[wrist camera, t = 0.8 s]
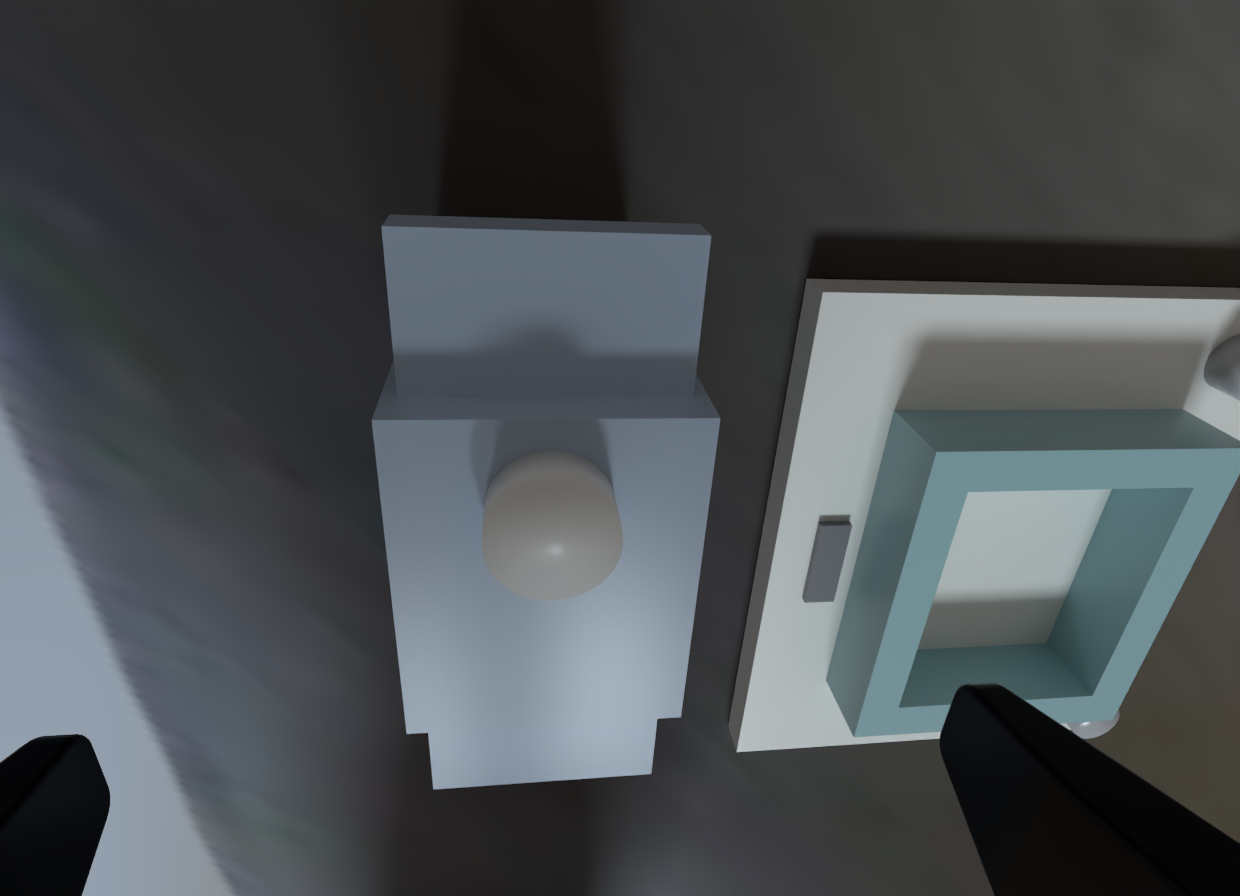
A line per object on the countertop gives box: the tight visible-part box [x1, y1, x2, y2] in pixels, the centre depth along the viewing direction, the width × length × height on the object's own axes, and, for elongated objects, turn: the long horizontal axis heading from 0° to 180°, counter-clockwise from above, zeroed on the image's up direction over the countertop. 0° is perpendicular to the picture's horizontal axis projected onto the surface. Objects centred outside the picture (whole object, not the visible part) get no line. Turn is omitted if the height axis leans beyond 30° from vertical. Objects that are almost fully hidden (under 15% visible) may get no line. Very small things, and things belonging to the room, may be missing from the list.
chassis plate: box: [728, 279, 1240, 752], centre depth 19 cm, size 14×12×3 cm
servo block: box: [372, 215, 720, 790], centre depth 13 cm, size 9×4×9 cm, turn 177°
